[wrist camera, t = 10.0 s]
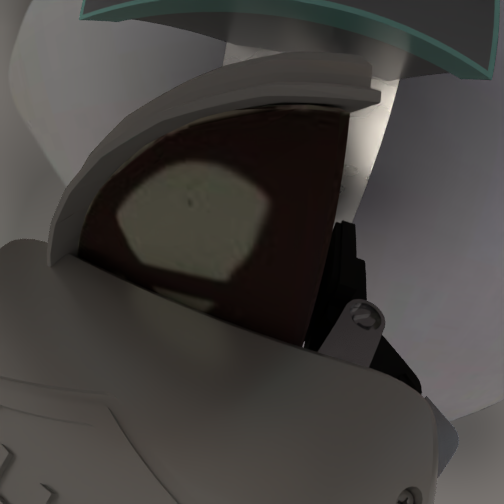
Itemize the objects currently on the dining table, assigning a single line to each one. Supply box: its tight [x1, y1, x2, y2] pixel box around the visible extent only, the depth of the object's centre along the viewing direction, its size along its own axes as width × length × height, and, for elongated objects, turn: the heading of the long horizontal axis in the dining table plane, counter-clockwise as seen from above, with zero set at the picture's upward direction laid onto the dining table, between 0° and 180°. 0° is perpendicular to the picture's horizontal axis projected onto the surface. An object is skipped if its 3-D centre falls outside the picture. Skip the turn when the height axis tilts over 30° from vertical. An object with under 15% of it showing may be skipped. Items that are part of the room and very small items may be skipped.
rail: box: [223, 42, 399, 228], centre depth 15 cm, size 8×23×2 cm, turn 169°
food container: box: [47, 52, 381, 347], centre depth 9 cm, size 12×6×10 cm, turn 177°
